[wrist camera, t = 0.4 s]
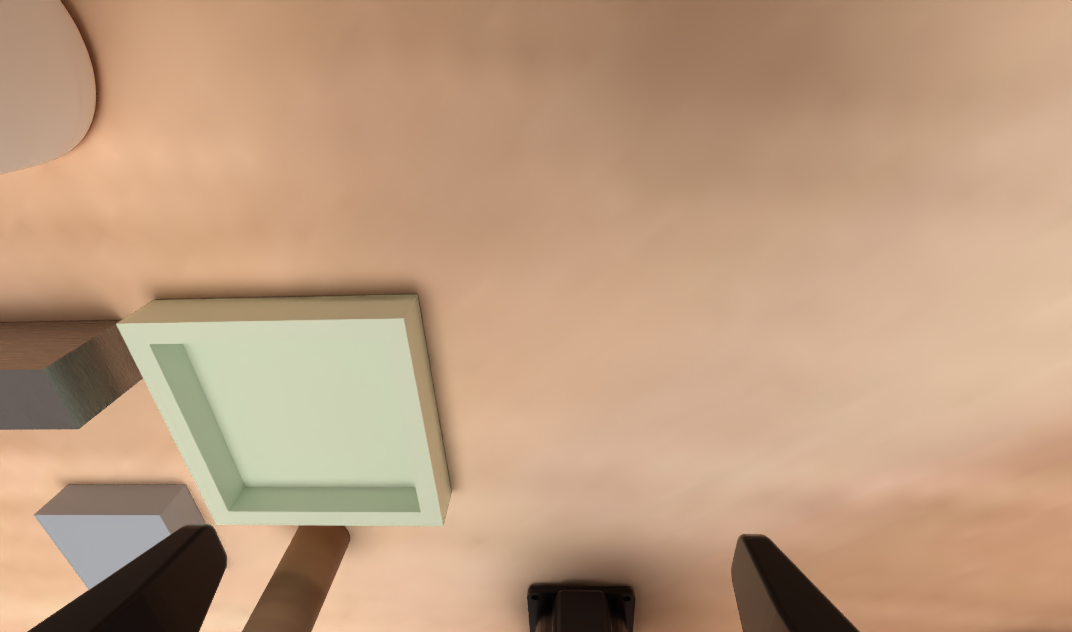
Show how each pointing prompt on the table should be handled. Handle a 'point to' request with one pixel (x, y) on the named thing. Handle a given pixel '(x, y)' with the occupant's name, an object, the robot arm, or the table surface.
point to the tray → (299, 406)
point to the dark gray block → (61, 372)
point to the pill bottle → (42, 83)
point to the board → (114, 523)
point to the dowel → (300, 581)
